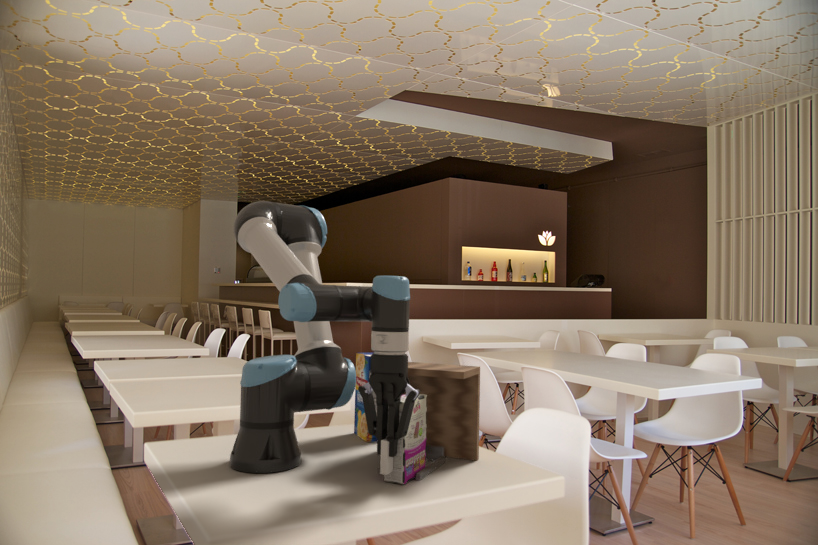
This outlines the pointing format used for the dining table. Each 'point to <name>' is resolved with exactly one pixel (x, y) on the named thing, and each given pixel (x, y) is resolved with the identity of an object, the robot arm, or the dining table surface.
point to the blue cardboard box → (361, 379)
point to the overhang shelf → (448, 411)
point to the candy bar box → (410, 444)
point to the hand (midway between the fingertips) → (386, 472)
